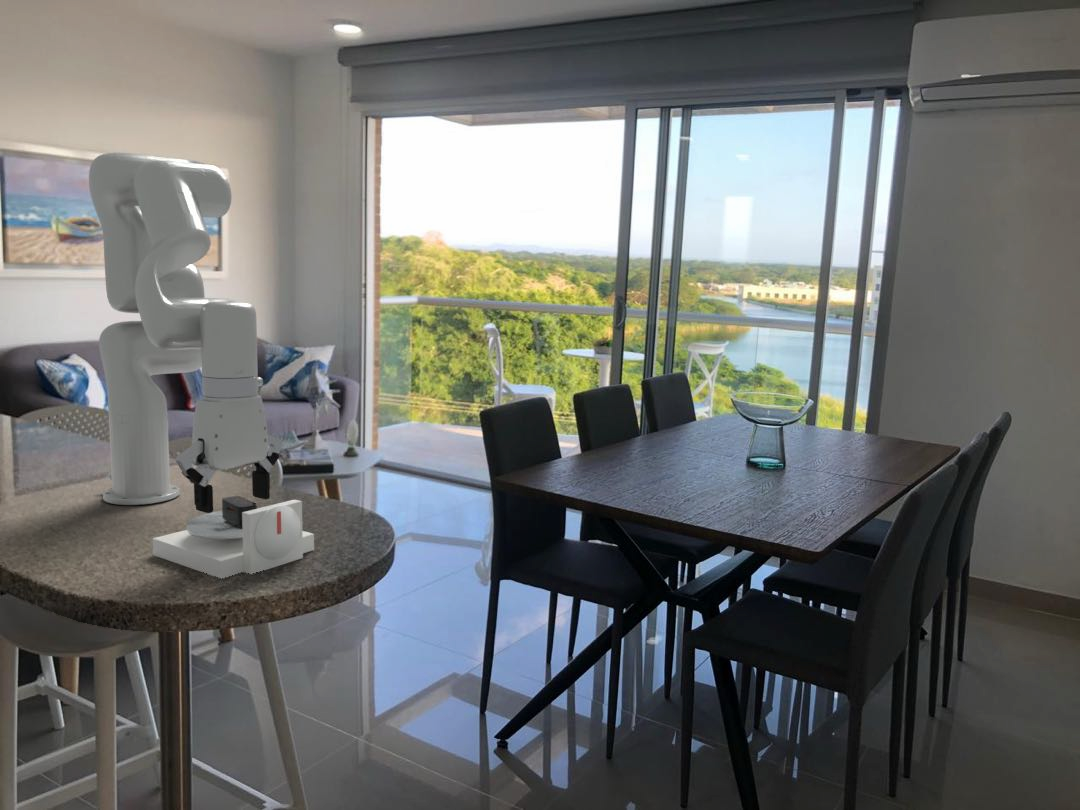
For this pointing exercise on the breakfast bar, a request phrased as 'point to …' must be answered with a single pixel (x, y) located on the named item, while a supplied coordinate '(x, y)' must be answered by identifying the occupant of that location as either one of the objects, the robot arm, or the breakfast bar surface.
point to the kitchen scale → (239, 541)
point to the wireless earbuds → (236, 509)
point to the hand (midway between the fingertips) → (233, 504)
